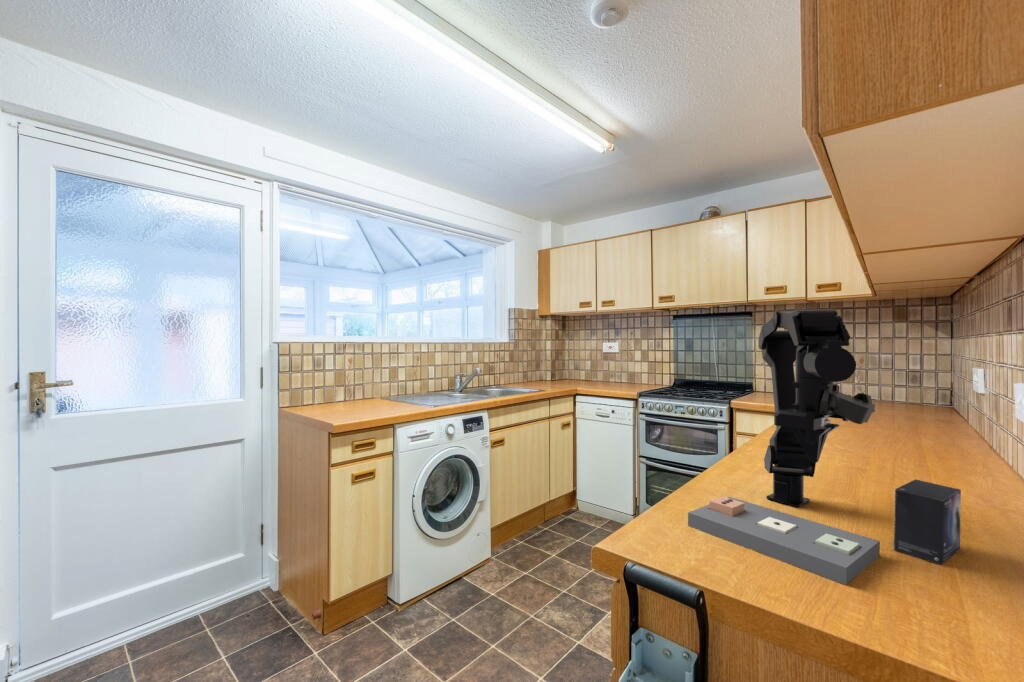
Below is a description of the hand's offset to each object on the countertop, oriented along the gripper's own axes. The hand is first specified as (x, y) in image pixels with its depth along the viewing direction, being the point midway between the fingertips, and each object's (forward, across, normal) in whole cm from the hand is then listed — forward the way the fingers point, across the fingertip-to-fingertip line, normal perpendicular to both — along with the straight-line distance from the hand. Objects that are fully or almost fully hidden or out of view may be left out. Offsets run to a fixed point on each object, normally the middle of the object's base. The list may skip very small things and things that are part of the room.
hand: (813, 461), depth 81 cm
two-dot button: (+12, -9, -7) cm, 17 cm away
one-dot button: (+13, -9, +3) cm, 16 cm away
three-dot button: (+11, -9, +12) cm, 19 cm away
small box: (+13, +8, -14) cm, 21 cm away
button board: (+13, -9, +2) cm, 16 cm away
